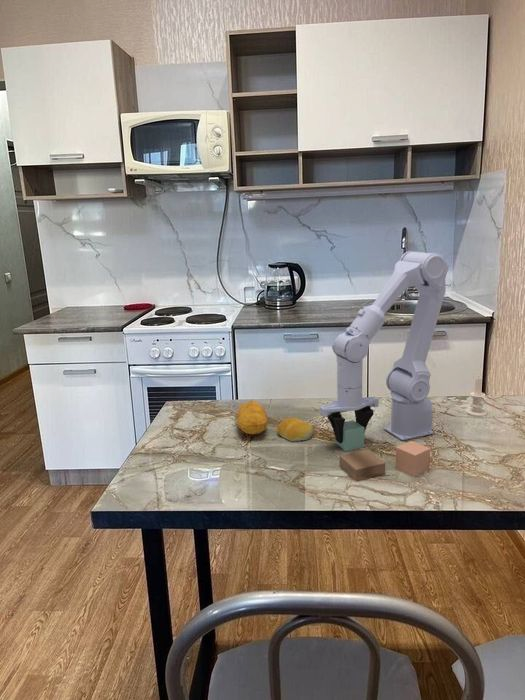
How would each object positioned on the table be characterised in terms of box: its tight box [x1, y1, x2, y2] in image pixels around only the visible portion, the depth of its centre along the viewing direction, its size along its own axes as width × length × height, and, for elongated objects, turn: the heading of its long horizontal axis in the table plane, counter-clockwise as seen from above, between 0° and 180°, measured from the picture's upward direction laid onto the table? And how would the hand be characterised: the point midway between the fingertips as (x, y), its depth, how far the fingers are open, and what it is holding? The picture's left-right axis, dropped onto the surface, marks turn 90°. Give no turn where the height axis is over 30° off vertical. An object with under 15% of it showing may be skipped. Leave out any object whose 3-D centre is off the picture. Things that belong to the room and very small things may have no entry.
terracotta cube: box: [394, 440, 432, 478], centre depth 111 cm, size 5×5×5 cm
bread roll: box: [277, 417, 314, 442], centre depth 131 cm, size 8×9×4 cm
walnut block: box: [339, 448, 386, 482], centre depth 112 cm, size 7×7×3 cm
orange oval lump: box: [236, 400, 268, 435], centre depth 133 cm, size 8×14×7 cm, turn 7°
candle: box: [465, 377, 488, 418], centre depth 138 cm, size 5×5×10 cm
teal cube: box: [334, 419, 365, 452], centre depth 124 cm, size 5×5×5 cm
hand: (349, 439), depth 124 cm, fingers open, 5 cm apart
